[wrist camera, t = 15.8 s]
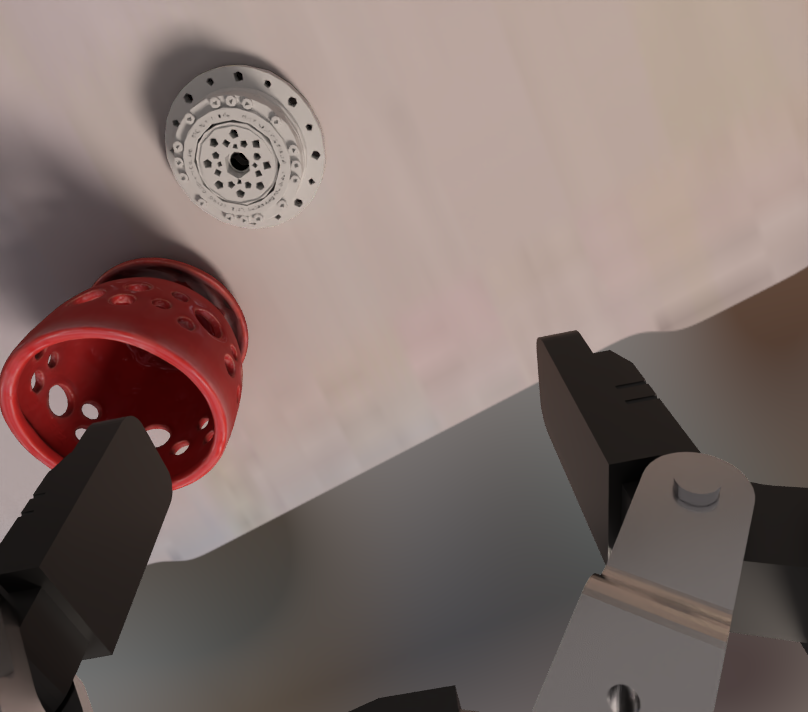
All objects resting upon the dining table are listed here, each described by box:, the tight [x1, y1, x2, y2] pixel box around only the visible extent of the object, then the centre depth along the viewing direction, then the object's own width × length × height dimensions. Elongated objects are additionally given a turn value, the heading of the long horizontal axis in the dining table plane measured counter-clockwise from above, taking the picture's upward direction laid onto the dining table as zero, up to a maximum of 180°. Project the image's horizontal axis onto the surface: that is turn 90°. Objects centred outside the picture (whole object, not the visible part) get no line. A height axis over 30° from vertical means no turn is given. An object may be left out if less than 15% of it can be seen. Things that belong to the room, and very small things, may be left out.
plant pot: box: [0, 258, 248, 490], centre depth 38 cm, size 13×13×12 cm
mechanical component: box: [165, 65, 326, 229], centre depth 35 cm, size 10×4×10 cm
